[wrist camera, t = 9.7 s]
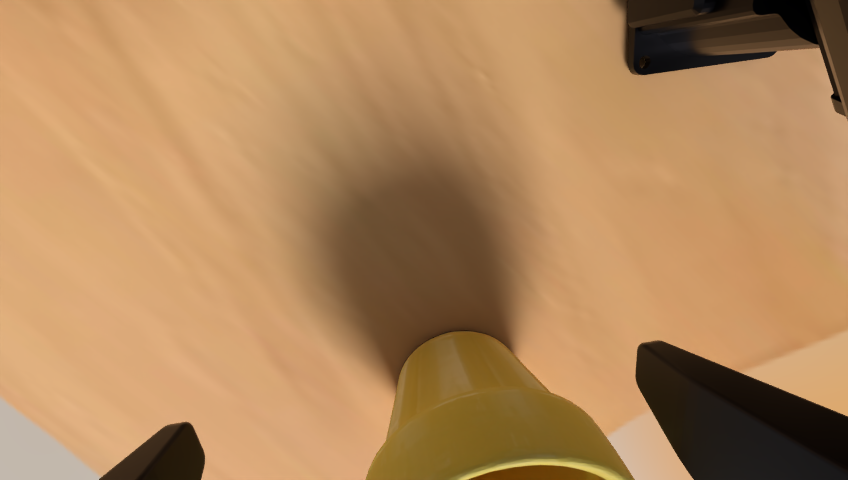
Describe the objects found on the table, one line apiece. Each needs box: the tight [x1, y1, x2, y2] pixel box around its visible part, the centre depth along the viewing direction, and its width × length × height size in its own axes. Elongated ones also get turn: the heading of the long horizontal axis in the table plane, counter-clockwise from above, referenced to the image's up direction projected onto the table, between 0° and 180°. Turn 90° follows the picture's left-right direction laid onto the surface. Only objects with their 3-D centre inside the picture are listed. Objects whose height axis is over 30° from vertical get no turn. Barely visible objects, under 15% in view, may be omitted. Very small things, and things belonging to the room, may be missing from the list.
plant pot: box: [366, 331, 635, 480], centre depth 19 cm, size 10×10×10 cm
